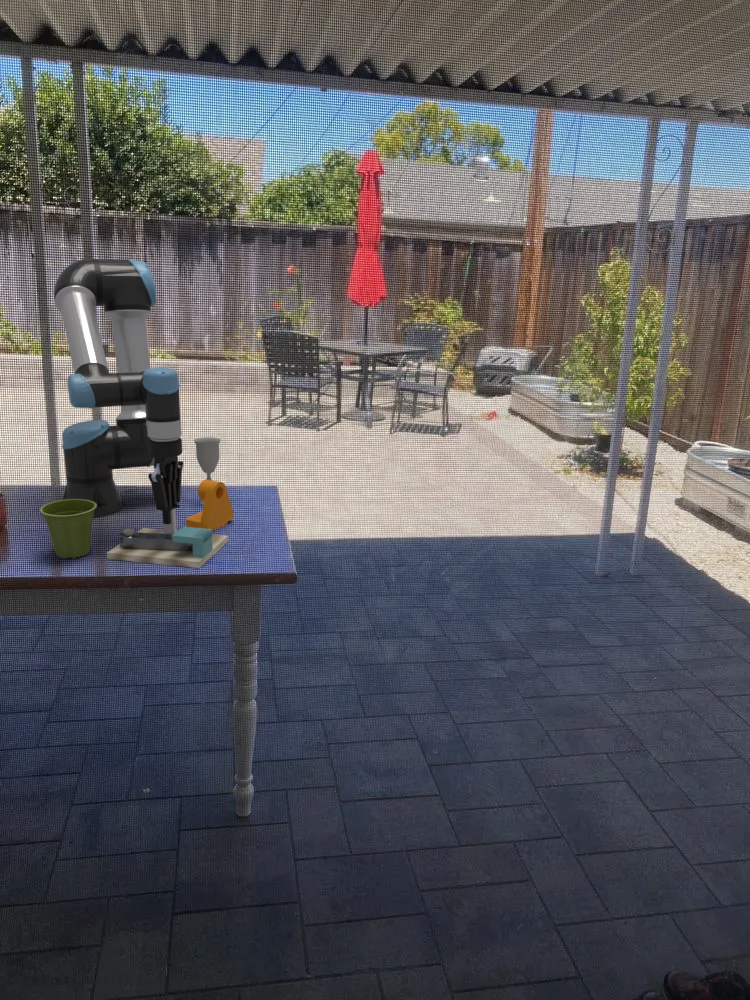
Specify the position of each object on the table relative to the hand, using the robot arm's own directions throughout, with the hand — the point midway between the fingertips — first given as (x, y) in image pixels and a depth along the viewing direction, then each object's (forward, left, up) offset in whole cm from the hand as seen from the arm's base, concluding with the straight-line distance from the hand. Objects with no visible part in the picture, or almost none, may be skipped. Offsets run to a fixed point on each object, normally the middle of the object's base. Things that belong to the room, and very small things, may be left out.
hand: (170, 535), depth 175 cm
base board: (+1, -3, -2) cm, 4 cm away
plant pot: (-19, -11, -3) cm, 22 cm away
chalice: (-4, +32, -3) cm, 33 cm away
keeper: (+9, -7, -1) cm, 11 cm away
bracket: (+3, +15, -3) cm, 16 cm away
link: (0, -6, -1) cm, 6 cm away
